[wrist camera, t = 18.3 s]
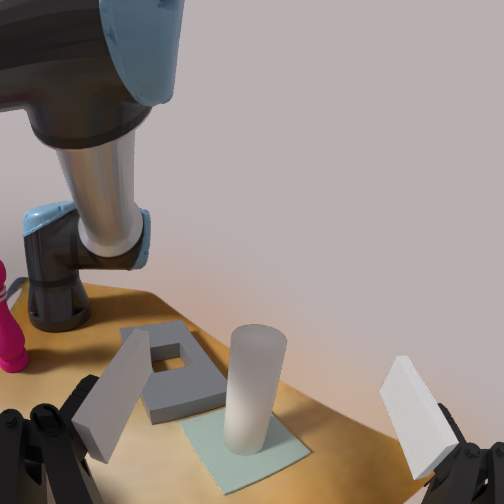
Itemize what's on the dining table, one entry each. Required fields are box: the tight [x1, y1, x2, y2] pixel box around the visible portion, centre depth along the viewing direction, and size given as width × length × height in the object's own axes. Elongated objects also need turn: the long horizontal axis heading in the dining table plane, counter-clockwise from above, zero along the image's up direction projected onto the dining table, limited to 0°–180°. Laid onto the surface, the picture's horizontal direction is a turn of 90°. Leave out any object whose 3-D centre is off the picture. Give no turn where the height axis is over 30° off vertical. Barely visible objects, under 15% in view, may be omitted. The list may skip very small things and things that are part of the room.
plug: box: [223, 324, 287, 456], centre depth 27 cm, size 5×5×16 cm
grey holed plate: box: [120, 320, 228, 425], centre depth 40 cm, size 20×12×3 cm, turn 33°
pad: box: [179, 409, 311, 495], centre depth 29 cm, size 12×12×1 cm
